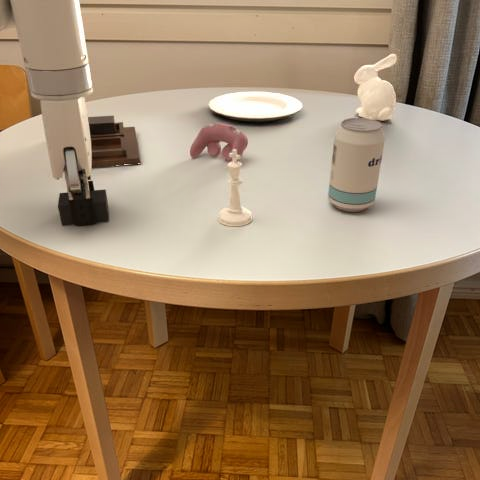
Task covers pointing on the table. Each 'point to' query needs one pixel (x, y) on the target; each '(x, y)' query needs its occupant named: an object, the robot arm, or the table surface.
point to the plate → (255, 106)
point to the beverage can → (356, 164)
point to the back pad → (99, 206)
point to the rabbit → (375, 91)
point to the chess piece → (234, 197)
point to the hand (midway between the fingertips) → (85, 214)
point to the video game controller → (212, 138)
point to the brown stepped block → (112, 142)
